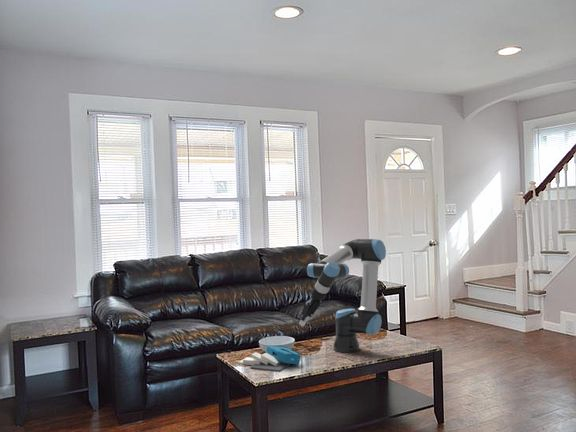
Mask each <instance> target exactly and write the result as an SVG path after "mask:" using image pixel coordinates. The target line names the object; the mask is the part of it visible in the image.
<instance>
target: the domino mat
mask: <svg viewBox="0 0 576 432" xmlns="http://www.w3.org/2000/svg"><path fill="white" fill-rule="evenodd" d="M290 365H291V364H289V363H284V362H282V361H281V363H280V364H279V365H277V366H275V365H273V364H271V363H269V364H267V365H266V364H264V363H261V364H254V365H250V367H249V368H250V370H251V369H252V370H262V371H270V372H281V371H282V372H283V370H285V368H287V367H288V366H290Z"/></svg>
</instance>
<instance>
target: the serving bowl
mask: <svg viewBox="0 0 576 432" xmlns="http://www.w3.org/2000/svg"><path fill="white" fill-rule="evenodd" d="M295 342H296V341H295V338H294V337H291V336H287V335H274V336H266V337H263V338H261V339H260V340H258V346H259V347H260V349H261V350H262V351H263V352H264V353H266V351H267V347H268V346H275V347H284V348H287V349H290V350H292V349H293V348H294V346H295Z"/></svg>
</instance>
